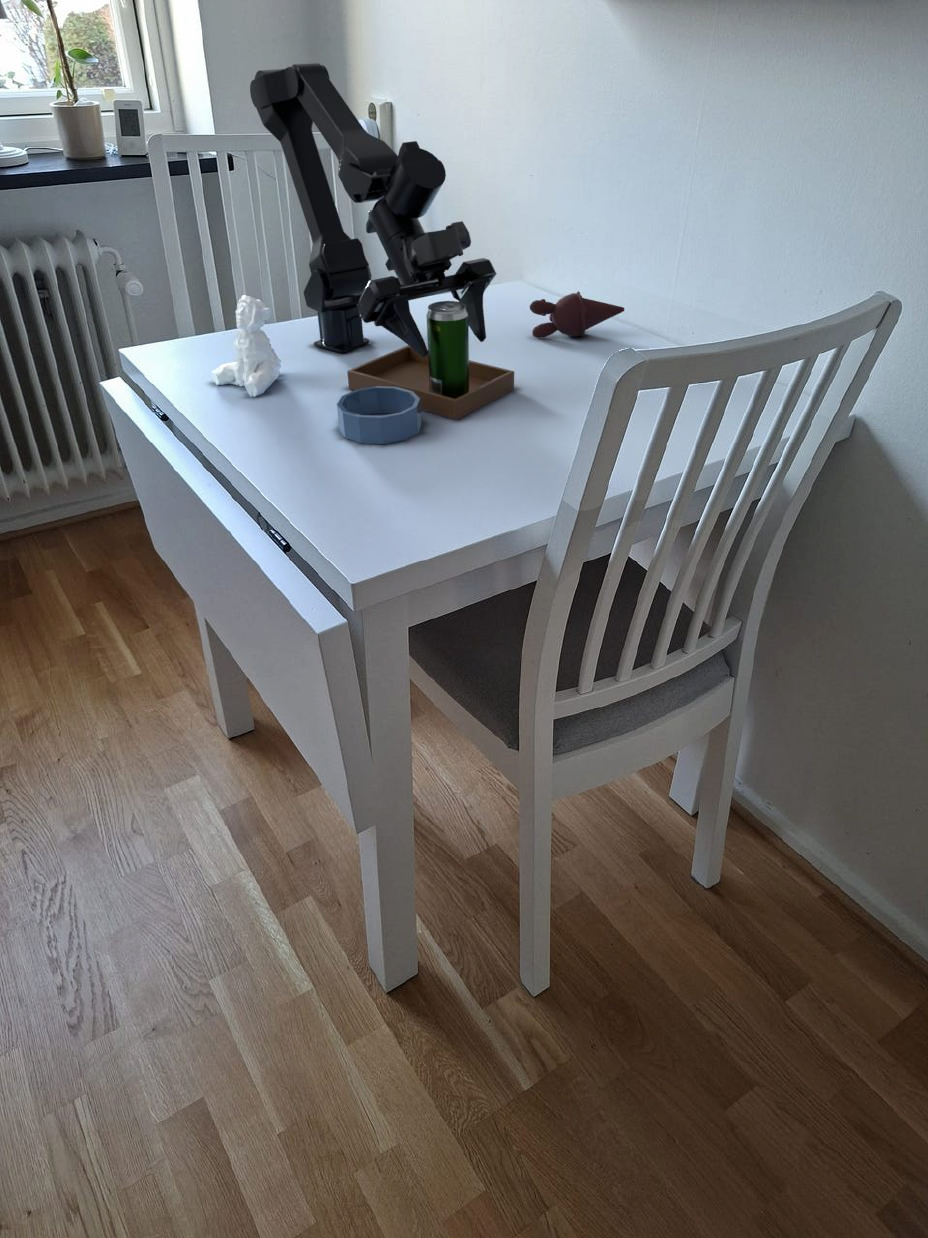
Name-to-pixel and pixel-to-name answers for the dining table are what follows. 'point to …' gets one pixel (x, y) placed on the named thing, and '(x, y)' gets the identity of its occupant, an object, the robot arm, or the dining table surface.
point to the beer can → (448, 348)
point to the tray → (413, 375)
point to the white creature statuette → (251, 351)
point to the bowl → (379, 428)
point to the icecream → (572, 315)
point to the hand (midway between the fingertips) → (455, 347)
